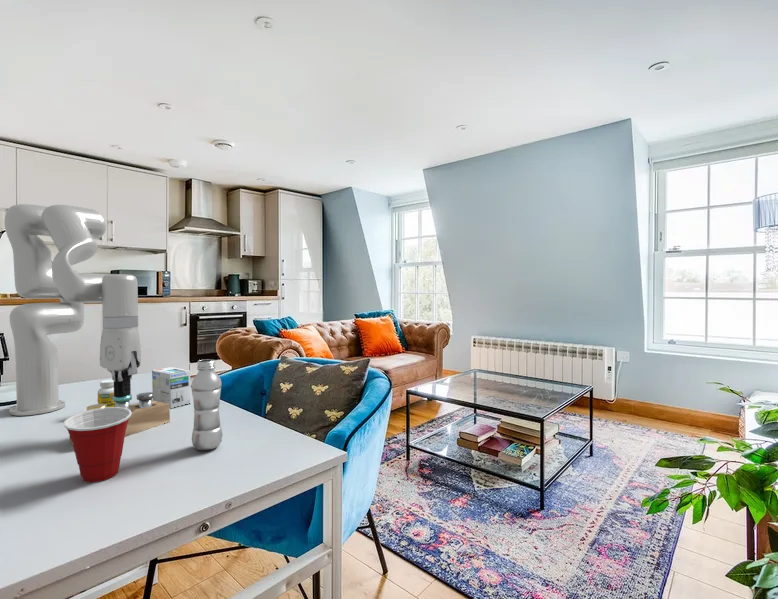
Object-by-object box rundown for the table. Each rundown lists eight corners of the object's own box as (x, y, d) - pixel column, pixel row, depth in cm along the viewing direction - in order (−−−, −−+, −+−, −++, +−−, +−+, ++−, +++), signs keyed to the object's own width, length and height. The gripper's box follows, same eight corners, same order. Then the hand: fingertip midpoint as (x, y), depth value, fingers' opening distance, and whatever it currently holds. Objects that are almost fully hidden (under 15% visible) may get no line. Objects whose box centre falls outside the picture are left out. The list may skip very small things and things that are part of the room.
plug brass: (83, 438, 98) (82, 407, 98) (101, 433, 102) (100, 402, 102) (93, 441, 97) (92, 409, 96) (111, 435, 100) (110, 405, 100)
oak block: (69, 442, 98) (69, 421, 97) (150, 417, 115) (150, 400, 115) (89, 448, 94) (88, 426, 94) (169, 422, 112) (169, 403, 112)
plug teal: (110, 426, 104) (109, 396, 103) (126, 421, 107) (125, 393, 107) (119, 429, 102) (119, 398, 102) (135, 424, 106) (135, 395, 105)
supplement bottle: (120, 410, 123) (119, 377, 122) (120, 414, 118) (120, 381, 118) (98, 413, 120) (97, 380, 119) (97, 418, 115) (96, 384, 115)
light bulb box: (191, 404, 129) (191, 369, 129) (170, 409, 123) (169, 373, 123) (172, 398, 135) (171, 366, 134) (151, 403, 129) (150, 369, 129)
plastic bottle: (192, 456, 90) (190, 364, 89) (191, 445, 96) (189, 359, 95) (224, 450, 93) (223, 362, 92) (221, 440, 99) (220, 357, 98)
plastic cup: (56, 494, 73) (54, 427, 73) (74, 469, 83) (72, 410, 83) (128, 483, 77) (126, 419, 77) (137, 460, 87) (136, 404, 87)
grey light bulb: (133, 423, 109) (133, 395, 109) (148, 418, 113) (147, 391, 112) (143, 425, 107) (142, 397, 107) (158, 421, 111) (157, 393, 111)
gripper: (87, 323, 104) (89, 396, 104) (123, 326, 97) (125, 403, 98) (118, 321, 110) (119, 389, 111) (154, 323, 104) (155, 395, 104)
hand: (122, 395), depth 104 cm, fingers closed
